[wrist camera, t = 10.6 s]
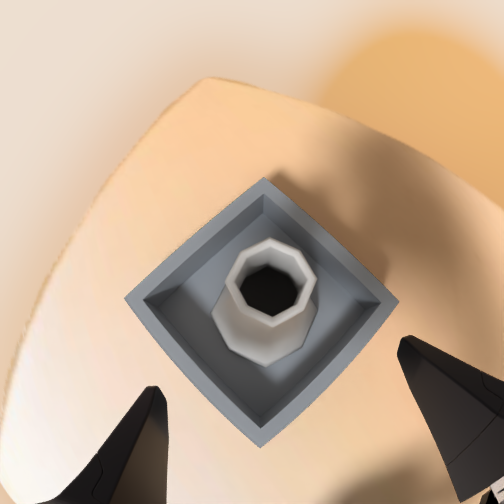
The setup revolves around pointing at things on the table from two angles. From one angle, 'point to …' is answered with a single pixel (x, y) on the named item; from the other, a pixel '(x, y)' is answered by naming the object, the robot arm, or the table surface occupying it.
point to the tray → (211, 285)
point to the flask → (266, 303)
